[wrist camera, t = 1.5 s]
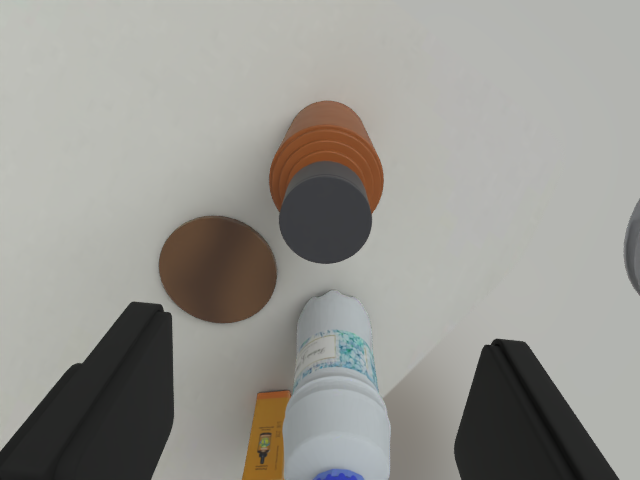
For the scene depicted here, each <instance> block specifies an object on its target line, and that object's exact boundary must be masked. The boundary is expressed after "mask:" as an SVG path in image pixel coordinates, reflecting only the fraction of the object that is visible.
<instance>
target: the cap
mask: <svg viewBox="0 0 640 480" xmlns="http://www.w3.org/2000/svg"><path fill="white" fill-rule="evenodd" d="M279 225H280V230H281V234H282V236H283V238H284V240H285V242H286V244H287V245H288V246H289V247H290V249H291V250H293V251H294V252H295V253H296V254H297V255H299V256H300V257H302V258H304V259H306V260H308V261H311V262H315V263H322V264H329V263H336V262H340V261H343V260H345V259H347V258H349V257H351V256H353V255H354V254H355V253H356V252H358V251H359V250H360V249H361V248H362V246H363V245H364V244H365V242H366V240H367V239H368V237H369V234H370V231H371V226H372V214H371V209H370V205H369V201H368V198H367V194H366V190H365V187H364V185H363V183H362V181H361V179H360V178H359V177H358V175H357V174H356V173H355V172H354V171H352V170H351V169H350V168H348V167H347V166H345V165H343V164H340V163H337V162H332V161H320V162H315V163H312V164H309V165H307V166H305V167H303V168H302V169H301V170H299V171H298V172H297V173H296V174H295V175H294V176H293V178H292V179H291V181H290V182H289V185H288V187H287V190H286V193H285V196H284V200H283V203H282V206H281V209H280V215H279Z"/></svg>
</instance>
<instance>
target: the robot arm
mask: <svg viewBox="0 0 640 480" xmlns="http://www.w3.org/2000/svg"><path fill="white" fill-rule="evenodd" d="M173 419H174V392H173V342H172V315H171V313H170V312H164V310H163V307H162V305H161V304H152V303H142V302H131V303H130V304H129V305H128V307H127V308H126V309H125V310H124V312H123V313H122V314H121V315H120V317H119V318H118V319H117V320H116V322H115V323H114V324H113V326H112V327H111V328H110V329H109V331H108V332H107V333H106V334H105V336H104V337H103V338H102V339H101V341H100V342H99V343H98V344H97V346H96V347H95V348H94V350H93V351H92V352H91V353H90V355H89V356H88V357H87V358H86V360H85V361H84V362H83V363H77V364H74V365H72V366H71V367H70V368H69V369H68V370H67V371H66V372H65V373H64V375H63V376H62V377H61V378H60V380H59V381H58V382H57V383H56V384H55V386H54V387H53V388H52V389H51V391H50V392H49V393H48V394H47V395H46V397H45V398H44V399H43V400H42V401H41V403H40V404H39V405H38V406H37V408H36V409H35V410H34V411H33V412H32V414H31V415H30V416H29V417H28V419H27V420H26V421H25V422H24V423H23V425H22V426H21V427H20V428H19V429H18V431H17V432H16V433H15V434H14V436H13V437H12V438H11V439H10V440H9V442H8V443H7V444H6V445H5V446H4V448H3V449H2V450H1V451H0V480H151V478H152V476H153V473H154V471H155V468H156V466H157V464H158V461H159V459H160V456H161V454H162V452H163V449H164V447H165V444H166V442H167V440H168V437H169V435H170V432H171V429H172V425H173ZM454 454H455V460H456V463H457V467H458V470H459V473H460V477H461V480H619V478H618V477H617V476H616V474H615V472H614V471H613V470H612V468H611V467H610V465H609V464H608V462H607V461H606V459H605V458H604V456H603V455H602V453H601V452H600V451H599V449H598V447H597V446H596V445H595V443H594V442H593V440H592V439H591V437H590V436H589V434H588V433H587V431H586V430H585V429H584V427H583V425H582V424H581V422H580V421H579V420H578V418H577V417H576V415H575V414H574V412H573V411H572V409H571V408H570V406H569V405H568V403H567V402H566V400H565V399H564V397H563V396H562V395H561V393H560V392H559V390H558V389H557V387H556V386H555V384H554V383H553V382H552V380H551V379H550V377H549V375H548V374H547V372H546V371H545V370H544V368H543V367H542V365H541V364H540V362H539V361H538V359H537V358H536V356H535V355H534V353H533V352H532V350H531V349H530V347H529V346H528V345H527V344H526V343H525V342H523V341H514V340H505V339H495V340H494V341H493V342H492V343H491V345H485V346H484V347H483V349H482V351H481V355H480V358H479V362H478V365H477V368H476V372H475V375H474V379H473V382H472V385H471V389H470V392H469V396H468V399H467V402H466V406H465V409H464V412H463V416H462V419H461V423H460V426H459V430H458V433H457V436H456V440H455V445H454Z"/></svg>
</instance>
